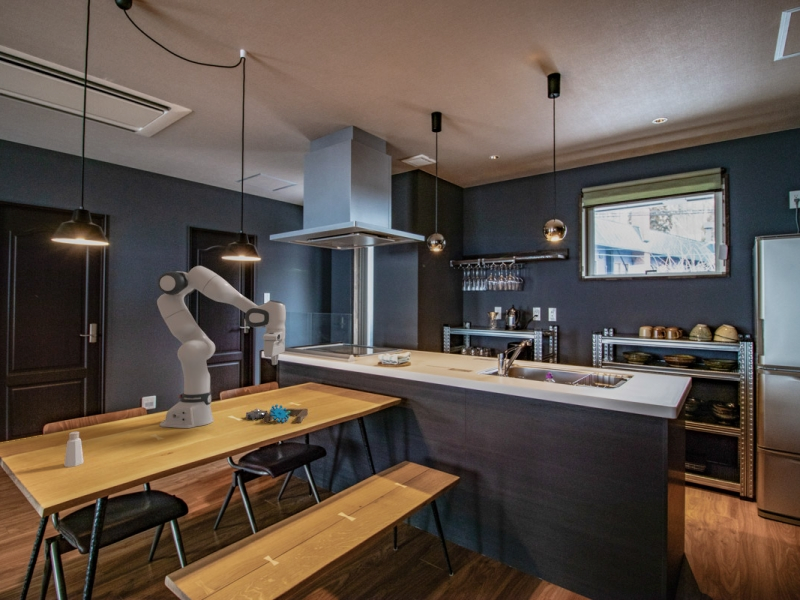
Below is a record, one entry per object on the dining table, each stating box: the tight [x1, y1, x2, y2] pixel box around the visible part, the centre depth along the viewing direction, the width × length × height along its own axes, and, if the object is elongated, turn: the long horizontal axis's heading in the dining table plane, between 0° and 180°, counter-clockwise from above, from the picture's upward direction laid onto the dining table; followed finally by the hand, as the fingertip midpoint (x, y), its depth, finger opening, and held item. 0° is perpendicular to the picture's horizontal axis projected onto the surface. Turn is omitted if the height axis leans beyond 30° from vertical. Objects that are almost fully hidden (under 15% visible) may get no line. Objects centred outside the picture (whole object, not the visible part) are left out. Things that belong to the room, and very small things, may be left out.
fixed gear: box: [245, 408, 269, 421], centre depth 206 cm, size 10×10×4 cm
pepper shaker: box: [64, 431, 85, 468], centre depth 146 cm, size 5×5×11 cm
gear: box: [269, 404, 291, 424], centre depth 201 cm, size 11×6×10 cm
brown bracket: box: [263, 408, 309, 424], centre depth 204 cm, size 17×15×3 cm
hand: (274, 364), depth 198 cm, fingers closed
